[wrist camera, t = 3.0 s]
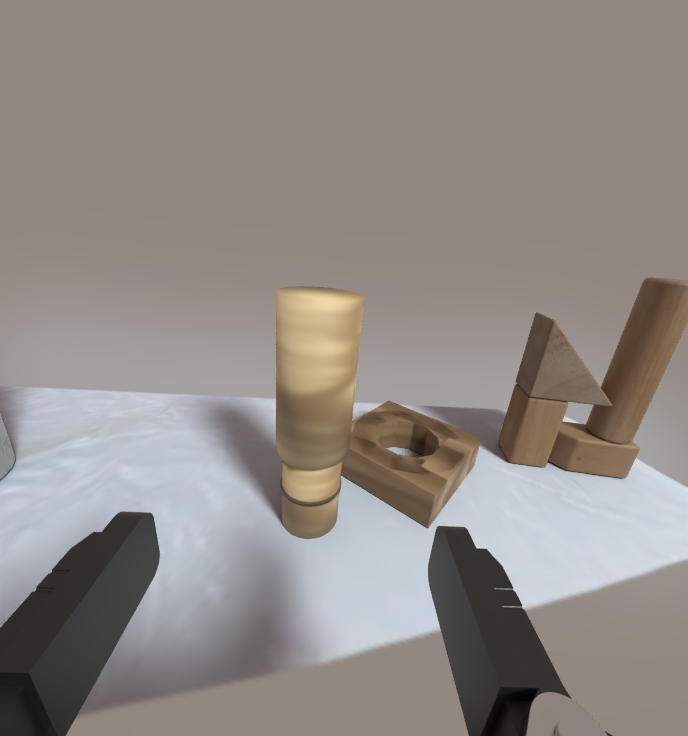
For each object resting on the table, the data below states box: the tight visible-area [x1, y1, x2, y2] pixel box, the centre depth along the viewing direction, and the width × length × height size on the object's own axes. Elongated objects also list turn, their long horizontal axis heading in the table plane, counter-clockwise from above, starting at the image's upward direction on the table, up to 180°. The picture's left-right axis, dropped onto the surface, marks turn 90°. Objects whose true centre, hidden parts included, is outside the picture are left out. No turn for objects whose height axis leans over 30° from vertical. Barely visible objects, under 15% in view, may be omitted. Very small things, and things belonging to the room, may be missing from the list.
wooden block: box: [498, 277, 688, 478], centre depth 29 cm, size 4×11×18 cm, turn 82°
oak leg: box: [276, 287, 364, 539], centre depth 21 cm, size 5×5×16 cm
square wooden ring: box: [341, 401, 481, 528], centre depth 29 cm, size 10×10×3 cm
